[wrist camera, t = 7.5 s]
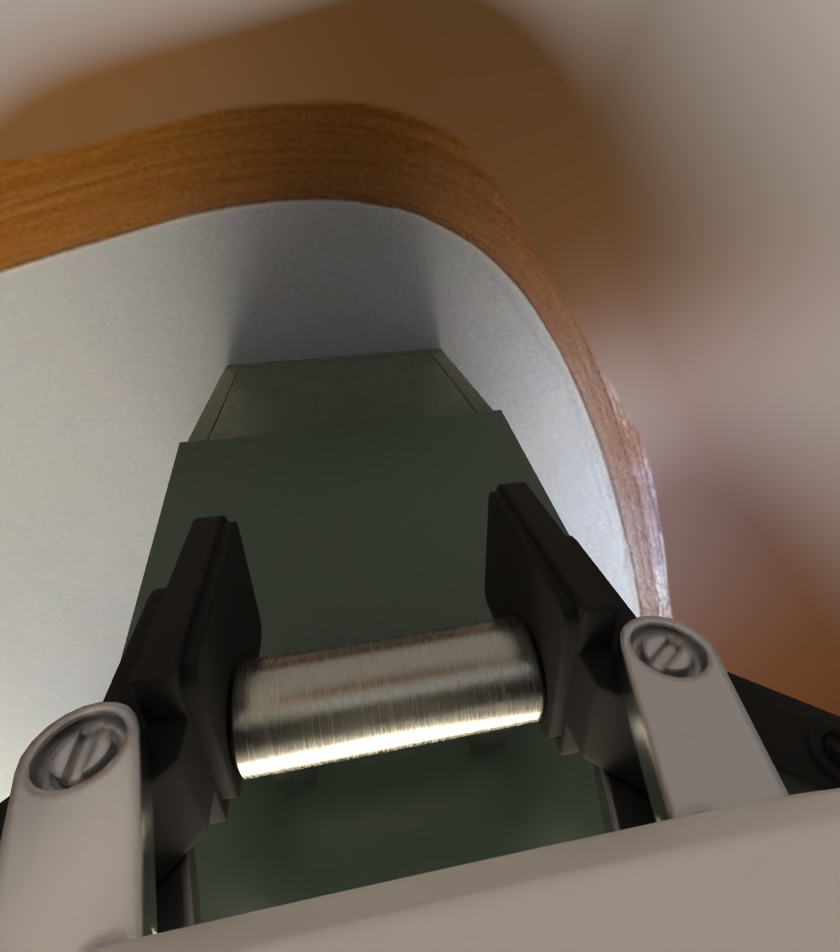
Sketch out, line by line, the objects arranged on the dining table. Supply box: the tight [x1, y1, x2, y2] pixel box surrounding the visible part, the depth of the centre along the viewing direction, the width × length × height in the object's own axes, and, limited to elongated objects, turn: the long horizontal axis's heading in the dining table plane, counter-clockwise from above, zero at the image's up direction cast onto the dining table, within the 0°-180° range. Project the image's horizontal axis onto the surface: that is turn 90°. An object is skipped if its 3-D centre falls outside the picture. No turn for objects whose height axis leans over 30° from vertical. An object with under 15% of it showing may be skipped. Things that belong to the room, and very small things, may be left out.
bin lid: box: [121, 410, 605, 923], centre depth 13 cm, size 14×13×5 cm
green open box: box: [188, 349, 493, 442], centre depth 28 cm, size 14×13×11 cm
